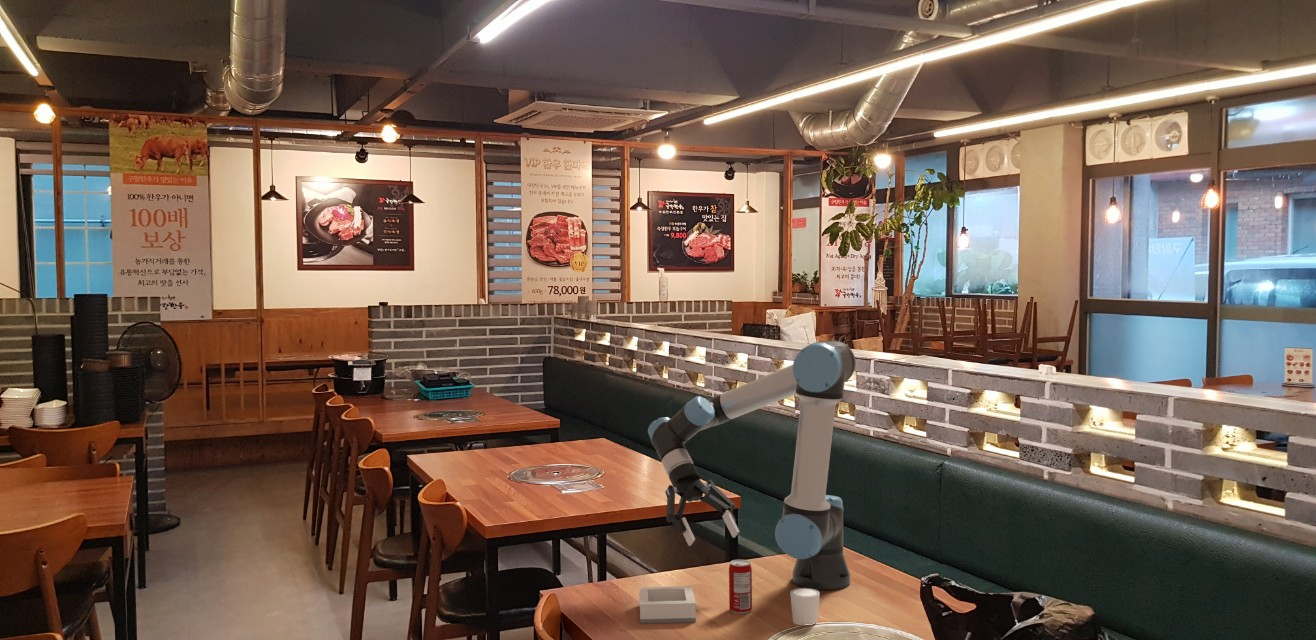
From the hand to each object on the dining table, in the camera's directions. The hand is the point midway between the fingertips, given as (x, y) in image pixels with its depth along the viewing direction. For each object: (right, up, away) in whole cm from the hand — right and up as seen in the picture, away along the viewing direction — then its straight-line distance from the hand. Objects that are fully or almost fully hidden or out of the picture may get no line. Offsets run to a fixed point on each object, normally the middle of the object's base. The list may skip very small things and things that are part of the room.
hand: (714, 538), depth 241 cm
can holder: (-12, -16, -10) cm, 22 cm away
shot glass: (+20, -16, -17) cm, 31 cm away
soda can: (+6, -16, -9) cm, 19 cm away
